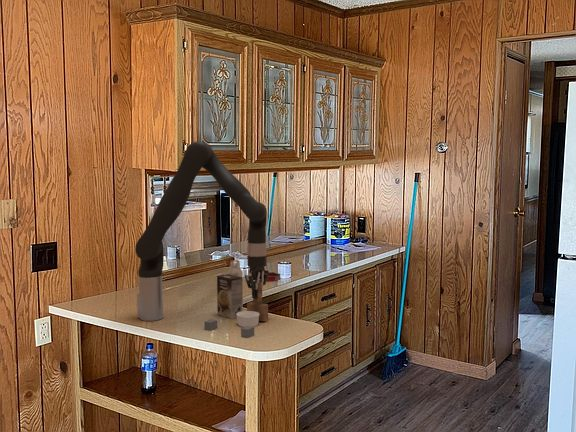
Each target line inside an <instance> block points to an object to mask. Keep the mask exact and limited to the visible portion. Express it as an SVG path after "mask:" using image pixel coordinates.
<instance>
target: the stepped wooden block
mask: <svg viewBox="0 0 576 432" xmlns="http://www.w3.org/2000/svg"><path fill="white" fill-rule="evenodd" d="M254 285H255V283H254ZM257 289H258V298H257V299H254V298H252V301H250V302H247V303H246V311H254V312H258V313H259V314H260V315H259V321H261V322H265V321H268V320H269V304H267V303H263V300H262V299H263V288H262V282H261V281H259V283H258V288H257Z"/></svg>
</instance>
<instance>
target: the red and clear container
mask: <svg viewBox="0 0 576 432" xmlns="http://www.w3.org/2000/svg"><path fill="white" fill-rule="evenodd" d="M264 268H265V269H267V270H268V271H270V272H269V273H268V277H267V281H266V283H270V282H271V283H272V282H273V283H274V281H275V282H279V281H278V280H280V281H281V273H280V272H277V271H275V270H272V269H271V268H268V267H267V265H266V266H265V267H264Z"/></svg>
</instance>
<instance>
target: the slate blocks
mask: <svg viewBox="0 0 576 432" xmlns="http://www.w3.org/2000/svg"><path fill="white" fill-rule="evenodd" d="M203 325H204V326H203V327H204V328H203V329H204V330H206V331H213V330H216V329H218V319H213V318H210V319H207V320H205V321H204V324H203ZM253 336H255V326H254V327H252V326H246V327H241V328H240V337H241V338H247V339H248V338H250V337H251V338H252V337H253Z"/></svg>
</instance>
